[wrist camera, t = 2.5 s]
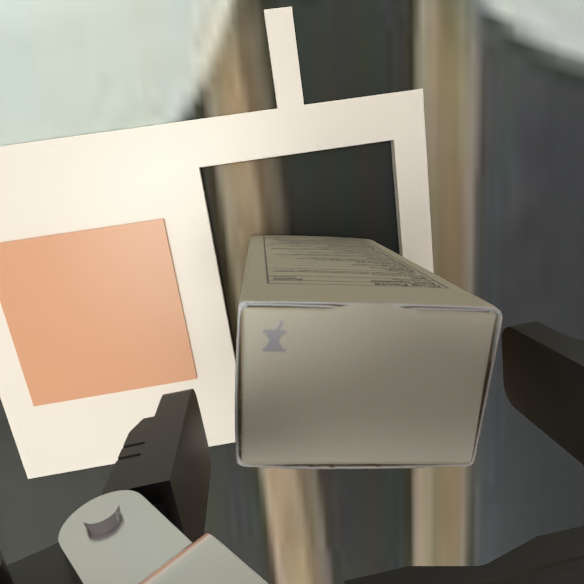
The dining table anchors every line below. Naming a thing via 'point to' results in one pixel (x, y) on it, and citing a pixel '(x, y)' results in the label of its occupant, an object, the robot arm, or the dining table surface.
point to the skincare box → (357, 359)
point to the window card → (154, 260)
